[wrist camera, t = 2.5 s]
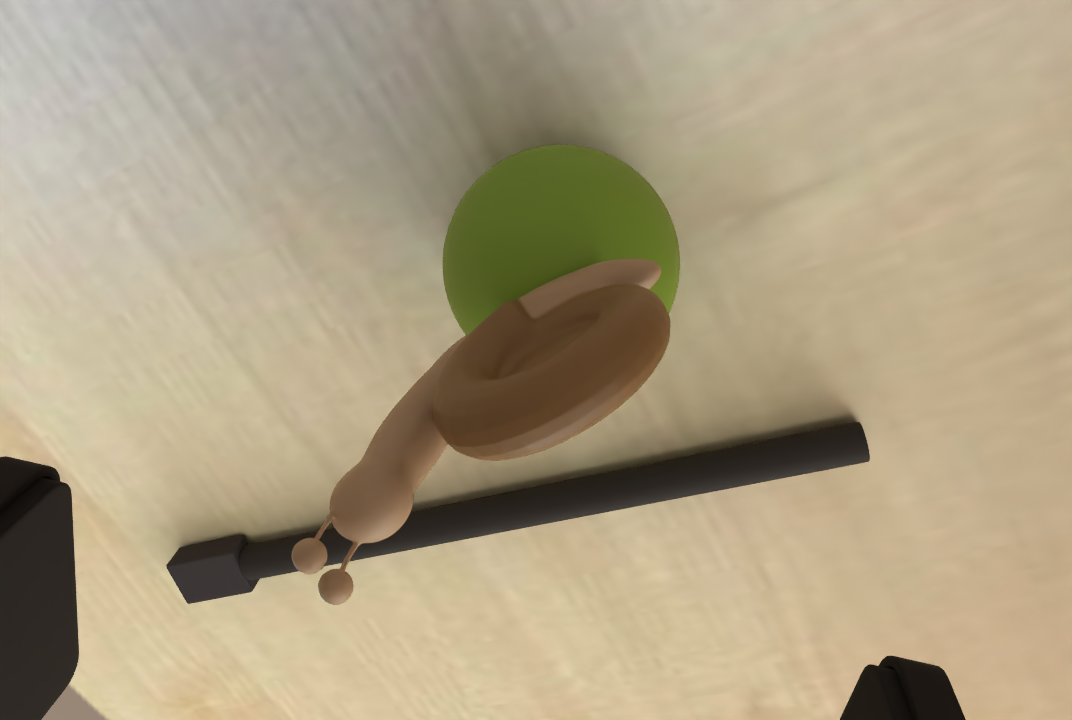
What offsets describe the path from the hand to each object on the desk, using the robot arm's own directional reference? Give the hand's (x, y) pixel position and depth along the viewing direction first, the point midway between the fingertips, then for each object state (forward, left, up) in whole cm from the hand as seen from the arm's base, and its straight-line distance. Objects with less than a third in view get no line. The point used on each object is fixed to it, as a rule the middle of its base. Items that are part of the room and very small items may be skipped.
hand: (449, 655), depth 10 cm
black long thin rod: (+8, 0, -15) cm, 17 cm away
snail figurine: (0, 0, -15) cm, 15 cm away
